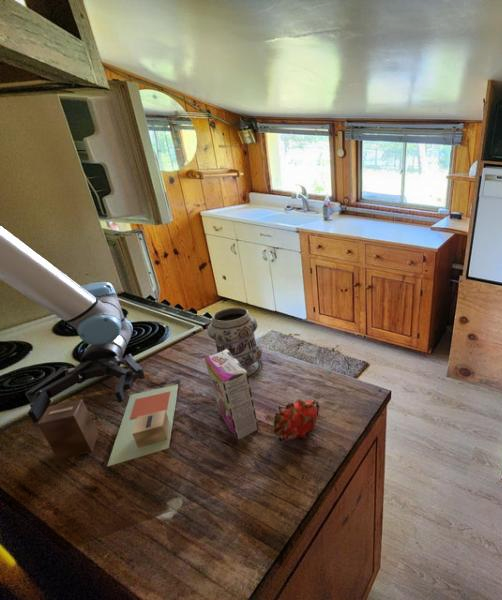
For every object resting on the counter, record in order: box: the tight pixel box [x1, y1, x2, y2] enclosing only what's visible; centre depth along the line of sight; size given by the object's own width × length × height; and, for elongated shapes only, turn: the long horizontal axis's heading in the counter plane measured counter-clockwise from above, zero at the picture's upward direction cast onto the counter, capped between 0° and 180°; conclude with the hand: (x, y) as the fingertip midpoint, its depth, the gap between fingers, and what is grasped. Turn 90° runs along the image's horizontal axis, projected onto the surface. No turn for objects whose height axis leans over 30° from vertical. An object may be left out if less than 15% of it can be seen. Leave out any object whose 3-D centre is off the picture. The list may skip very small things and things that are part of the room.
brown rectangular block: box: [37, 398, 99, 461], centre depth 64 cm, size 5×5×10 cm
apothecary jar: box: [207, 306, 263, 379], centre depth 87 cm, size 12×12×18 cm
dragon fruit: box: [272, 398, 320, 442], centre depth 71 cm, size 8×8×12 cm
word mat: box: [106, 383, 179, 468], centre depth 73 cm, size 10×22×1 cm, turn 27°
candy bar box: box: [204, 349, 259, 441], centre depth 70 cm, size 11×5×16 cm, turn 45°
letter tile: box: [132, 410, 170, 448], centre depth 68 cm, size 5×5×4 cm
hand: (77, 407), depth 68 cm, fingers open, 13 cm apart
